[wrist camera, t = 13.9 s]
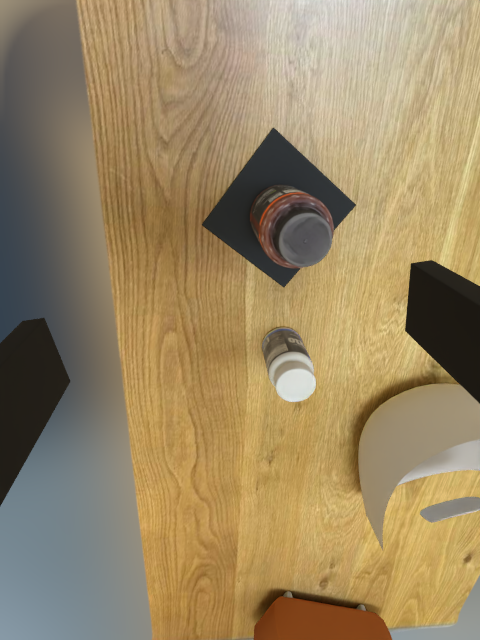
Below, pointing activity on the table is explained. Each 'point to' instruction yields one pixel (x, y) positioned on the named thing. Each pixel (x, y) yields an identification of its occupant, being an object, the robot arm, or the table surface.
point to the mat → (259, 174)
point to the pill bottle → (288, 364)
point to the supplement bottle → (291, 226)
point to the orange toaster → (318, 622)
